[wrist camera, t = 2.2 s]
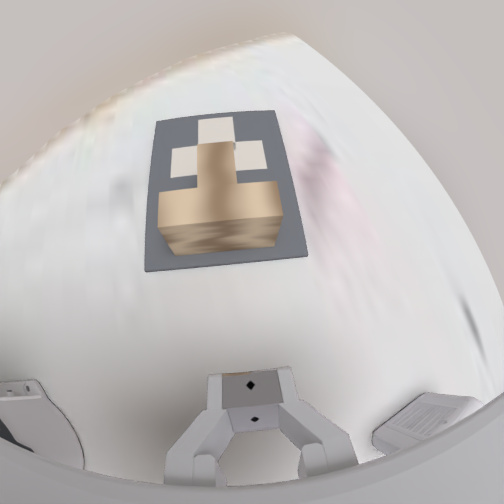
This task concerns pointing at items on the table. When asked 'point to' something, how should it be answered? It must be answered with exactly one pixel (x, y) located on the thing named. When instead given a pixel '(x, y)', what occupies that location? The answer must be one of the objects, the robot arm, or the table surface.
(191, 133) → the slate mat
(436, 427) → the photo printer
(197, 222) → the maple T-block
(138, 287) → the table surface
